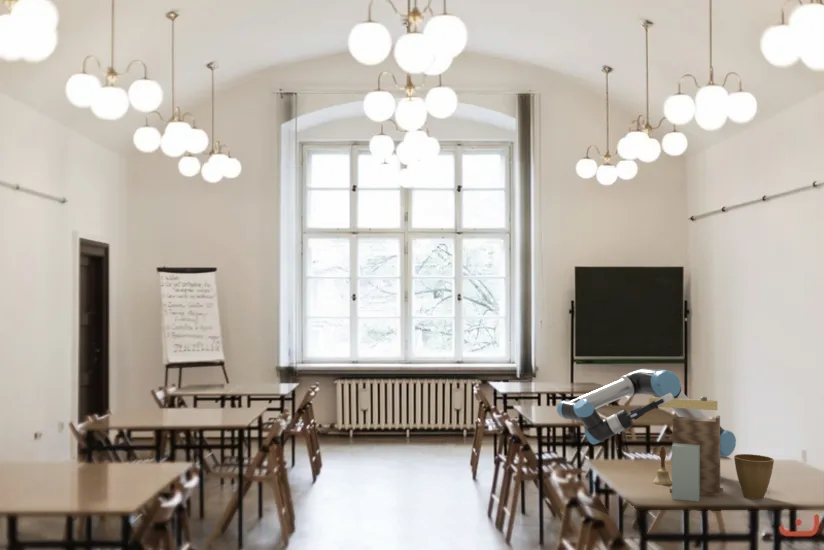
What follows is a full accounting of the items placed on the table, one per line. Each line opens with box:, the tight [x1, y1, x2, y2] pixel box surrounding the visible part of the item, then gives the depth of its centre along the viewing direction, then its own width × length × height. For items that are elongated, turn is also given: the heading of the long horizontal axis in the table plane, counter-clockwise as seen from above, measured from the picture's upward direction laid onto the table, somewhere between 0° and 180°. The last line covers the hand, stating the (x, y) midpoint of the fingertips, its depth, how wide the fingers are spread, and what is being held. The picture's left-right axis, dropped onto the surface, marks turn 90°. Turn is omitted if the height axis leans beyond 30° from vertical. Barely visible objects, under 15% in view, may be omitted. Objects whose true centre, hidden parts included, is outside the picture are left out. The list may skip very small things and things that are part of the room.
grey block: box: [671, 443, 701, 502], centre depth 319 cm, size 10×7×21 cm
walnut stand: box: [669, 415, 724, 498], centre depth 331 cm, size 20×12×32 cm, turn 66°
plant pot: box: [733, 453, 775, 500], centre depth 322 cm, size 15×15×16 cm
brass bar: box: [648, 396, 718, 411], centre depth 321 cm, size 26×4×5 cm, turn 66°
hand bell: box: [652, 445, 672, 486], centre depth 347 cm, size 8×8×16 cm
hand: (671, 395), depth 322 cm, fingers closed on brass bar, 3 cm apart
